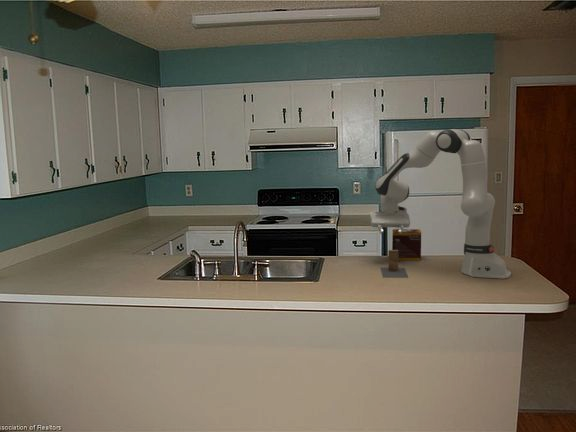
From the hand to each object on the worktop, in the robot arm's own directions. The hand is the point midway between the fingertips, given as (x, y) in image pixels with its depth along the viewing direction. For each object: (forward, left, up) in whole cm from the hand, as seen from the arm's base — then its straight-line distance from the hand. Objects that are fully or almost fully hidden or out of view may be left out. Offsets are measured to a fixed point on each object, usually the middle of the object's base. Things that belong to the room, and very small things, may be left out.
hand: (390, 233), depth 268 cm
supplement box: (-2, -19, -17) cm, 26 cm away
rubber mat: (-7, +15, -17) cm, 24 cm away
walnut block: (-5, +11, -17) cm, 21 cm away
